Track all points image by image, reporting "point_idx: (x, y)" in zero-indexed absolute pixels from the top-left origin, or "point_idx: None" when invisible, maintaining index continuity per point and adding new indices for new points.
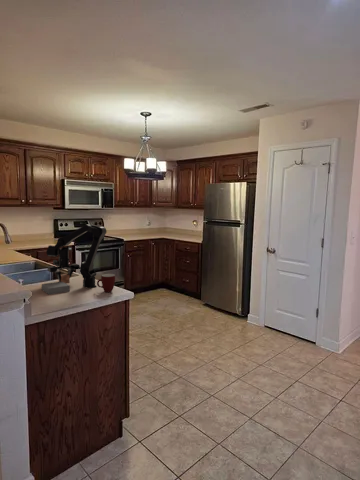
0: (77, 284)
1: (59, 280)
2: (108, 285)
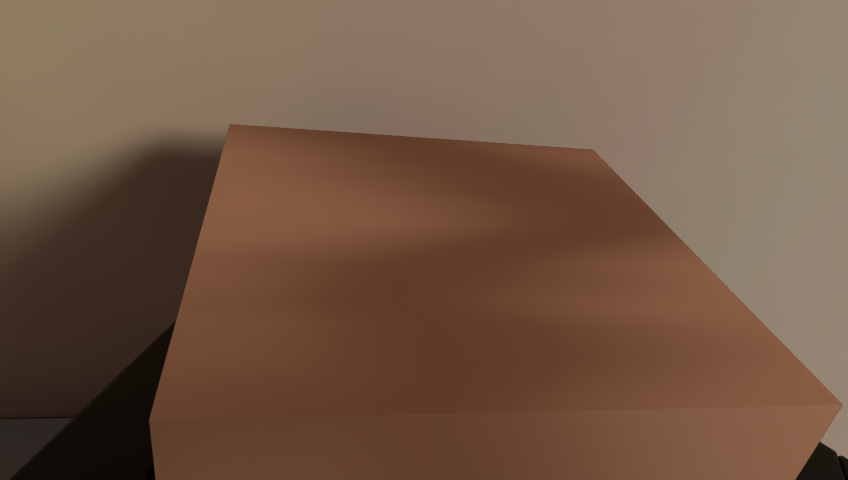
0: None
1: None
2: None
